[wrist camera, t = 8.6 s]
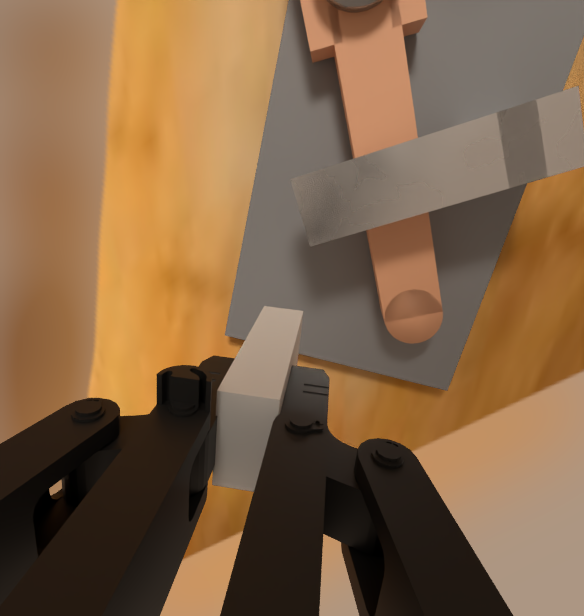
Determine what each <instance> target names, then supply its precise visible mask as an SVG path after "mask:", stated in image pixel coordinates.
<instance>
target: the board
mask: <svg viewBox="0 0 584 616" xmlns="http://www.w3.org/2000/svg"><path fill="white" fill-rule="evenodd" d="M425 2H426V9H427V19H426V21H425V23H424V24H423V26H422V28H421V29H420V31H419V32H418V33H415V34H411V35H408V36H405V37H404V43H405V50H406V57H407V64H408V71H409V78H410V85H411V92H412V99H413V106H414V114H415V121H416V128H417V135H418V138H419V137H422V136H425V135H428V134H431V133H434V132H437V131H441V130H444V129H447V128H450V127H453V126H456V125H459V124H462V123H465V122H468V121H471V120H475V119H478V118H481V117H484V116H487V115H490V114H493V113H496V112H499V111H502V110H505V109H508V108H512V107H515V106H518V105H521V104H524V103H527V102H530V101H533V100H536V99H539V98H542V97H546V96H549V95H552V94H555V93H558V92H561V91H563V88H564V86H565V83H566V81H567V78H568V75H569V73H570V70H571V68H572V65H573V62H574V60H575V57H576V55H577V52H578V49H579V47H580V44H581V42H582V39H583V36H584V0H425ZM351 159H353V156H352V150H351V145H350V139H349V134H348V129H347V123H346V118H345V112H344V107H343V101H342V96H341V90H340V85H339V79H338V74H337V69H336V63H335V58H334V57H331V58H328V59H324V60H321V61H317V62H314V63H312V58H311V53H310V48H309V43H308V37H307V32H306V27H305V22H304V17H303V12H302V7H301V2H300V0H289V1H288V7H287V12H286V17H285V22H284V28H283V33H282V38H281V43H280V49H279V54H278V59H277V64H276V70H275V75H274V80H273V85H272V90H271V96H270V101H269V106H268V111H267V117H266V122H265V127H264V132H263V138H262V143H261V148H260V153H259V159H258V164H257V169H256V174H255V180H254V185H253V190H252V195H251V201H250V206H249V211H248V216H247V222H246V227H245V232H244V237H243V243H242V248H241V253H240V258H239V264H238V269H237V274H236V279H235V285H234V290H233V295H232V300H231V306H230V311H229V316H228V321H227V326H226V332H225V335H226V336H230V337H234V338H238V339H242V340H246V338H247V336H248V334H249V332H250V331H251V329H252V327H253V325H254V324H255V322H256V320H257V318H258V316H259V315H260V313H261V311H262V309H263V307H264V306H269V307H276V308H284V309H292V310H300V311H303V318H302V327H301V336H300V345H299V353H298V354H302V355H306V356H310V357H314V358H318V359H322V360H326V361H330V362H334V363H338V364H342V365H346V366H350V367H354V368H358V369H362V370H366V371H370V372H374V373H378V374H382V375H386V376H390V377H394V378H398V379H402V380H406V381H410V382H414V383H418V384H422V385H426V386H430V387H434V388H438V389H442V390H446V391H447V390H448V388H449V385H450V382H451V380H452V377H453V375H454V372H455V369H456V367H457V364H458V362H459V359H460V356H461V354H462V351H463V349H464V346H465V343H466V341H467V338H468V336H469V333H470V330H471V328H472V325H473V323H474V320H475V317H476V315H477V312H478V310H479V307H480V304H481V302H482V299H483V297H484V294H485V291H486V289H487V286H488V284H489V281H490V278H491V276H492V273H493V271H494V268H495V265H496V263H497V260H498V258H499V255H500V252H501V250H502V247H503V245H504V242H505V239H506V237H507V234H508V232H509V229H510V226H511V224H512V221H513V219H514V216H515V213H516V211H517V208H518V205H519V203H520V200H521V198H522V195H523V192H524V190H525V187H526V185H527V183H526V184H523V185H519V186H516V187H512V188H509V189H505V190H502V191H499V192H495V193H492V194H488V195H485V196H481V197H478V198H475V199H471V200H468V201H464V202H461V203H458V204H454V205H451V206H447V207H444V208H440V209H437V210H434V211H430V212H429V219H430V226H431V233H432V240H433V247H434V254H435V261H436V268H437V275H438V282H439V289H440V296H441V303H442V310H443V320H442V323H441V326H440V328H439V330H438V331H437V332H436V333H435V335H433V336H432V337H431V338H429V339H428V340H426V341H423V342H420V343H414V344H410V343H404V342H401V341H399V340H397V339H396V338H394V337H393V336H392V335H391V334H390V333H389V331H388V330H387V327H386V325H385V322H384V319H383V316H382V313H381V308H380V303H379V297H378V292H377V287H376V281H375V276H374V270H373V265H372V259H371V254H370V248H369V243H368V237H367V232H366V230H365V231H362V232H358V233H355V234H352V235H348V236H345V237H341V238H338V239H334V240H331V241H328V242H324V243H321V244H317V245H314V246H311V247H310V244H309V241H308V238H307V234H306V231H305V227H304V224H303V221H302V217H301V214H300V211H299V207H298V204H297V200H296V197H295V194H294V190H293V187H292V183H291V180H290V179H292V178H296V177H299V176H302V175H305V174H308V173H311V172H314V171H317V170H320V169H323V168H326V167H329V166H333V165H336V164H339V163H342V162H345V161H348V160H351Z"/></svg>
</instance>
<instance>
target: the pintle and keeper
mask: <svg viewBox="0 0 584 616" xmlns="http://www.w3.org/2000/svg"><path fill="white" fill-rule="evenodd" d="M327 1H328V2H329V3H330V4H331V5H332V6H334V7H335V8H337V9H339V10H341V11H345V12H350V13H358V12H364V11H367V10H369V9H372V8H374V7H375V6H377V5H378V4H379V3H381V2H382V1H383V0H327ZM581 167H584V129H583V120H582V112H581V103H580V95H579V86H576V87H573V88H570V89H567V90H564V91H561V92H558V93H555V94H552V95H549V96H546V97H542V98H539V99H536V100H533V101H530V102H527V103H524V104H521V105H518V106H515V107H512V108H508V109H505V110H502V111H499V112H496V113H493V114H490V115H487V116H484V117H481V118H478V119H475V120H471V121H468V122H465V123H462V124H459V125H456V126H453V127H450V128H447V129H444V130H441V131H437V132H434V133H431V134H428V135H425V136H422V137H419V138H416V139H413V140H410V141H407V142H404V143H400V144H397V145H394V146H391V147H388V148H385V149H382V150H379V151H376V152H373V153H370V154H367V155H363V156H360V157H357V158H354V159H351V160H348V161H345V162H342V163H339V164H336V165H333V166H329V167H326V168H323V169H320V170H317V171H314V172H311V173H308V174H305V175H302V176H299V177H296V178H292V179H290V180H291V183H292V187H293V190H294V194H295V197H296V200H297V204H298V207H299V211H300V214H301V217H302V221H303V224H304V227H305V231H306V234H307V238H308V241H309V244H310V247H311V246H314V245H317V244H321V243H324V242H328V241H331V240H334V239H338V238H341V237H345V236H348V235H352V234H355V233H358V232H362V231H365V230H369V229H372V228H376V227H379V226H382V225H386V224H389V223H393V222H396V221H399V220H403V219H406V218H410V217H413V216H417V215H420V214H423V213H427V212H430V211H434V210H437V209H440V208H444V207H447V206H451V205H454V204H458V203H461V202H464V201H468V200H471V199H475V198H478V197H481V196H485V195H488V194H492V193H495V192H499V191H502V190H505V189H509V188H512V187H516V186H519V185H523V184H526V183H529V182H533V181H536V180H540V179H543V178H546V177H550V176H553V175H557V174H560V173H564V172H567V171H570V170H574V169H577V168H581Z"/></svg>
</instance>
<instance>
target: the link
mask: <svg viewBox="0 0 584 616" xmlns="http://www.w3.org/2000/svg"><path fill="white" fill-rule="evenodd" d="M300 2H301V7H302V12H303V17H304V22H305V27H306V32H307V37H308V43H309V48H310V53H311V58H312V63H314V62H317V61H321V60H324V59H328V58H331V57H334V58H335V63H336V69H337V74H338V79H339V85H340V90H341V96H342V101H343V107H344V112H345V118H346V123H347V129H348V134H349V139H350V145H351V150H352V156H353V159H354V158H357V157H360V156H363V155H367V154H370V153H373V152H376V151H379V150H382V149H385V148H388V147H391V146H394V145H397V144H400V143H404V142H407V141H410V140H413V139H416V138H418V135H417V128H416V121H415V114H414V106H413V99H412V92H411V85H410V78H409V71H408V64H407V57H406V50H405V43H404V37H405V36H408V35H411V34H415V33H418V32H419V31H420V29H421V28H422V26H423V24H424V23H425V21H426V19H427V9H426V2H425V0H383V1H382V2H381V3H379V4H378V5H377V6H375V7H374V8H372V9H369V10H367V11H364V12H358V13H350V12H345V11H341V10H339V9H337V8H335V7H334V6H332V5H331V4H330V3H329V2H328V1H327V0H300ZM366 232H367V237H368V243H369V248H370V254H371V259H372V265H373V270H374V276H375V281H376V287H377V292H378V297H379V303H380V308H381V313H382V316H383V319H384V322H385V325H386V327H387V330H388V331H389V333H390V334H391V335H392V336H393V337H394V338H396V339H397V340H399V341H401V342H404V343H410V344H414V343H420V342H423V341H426V340H428V339H429V338H431V337H432V336H433V335H435V333H436V332H437V331H438V330H439V328H440V326H441V323H442V320H443V310H442V303H441V296H440V289H439V282H438V275H437V268H436V261H435V254H434V247H433V240H432V233H431V226H430V219H429V212H427V213H423V214H420V215H417V216H413V217H410V218H406V219H403V220H399V221H396V222H393V223H389V224H386V225H382V226H379V227H376V228H372V229H369V230H366Z"/></svg>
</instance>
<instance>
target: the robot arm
mask: <svg viewBox="0 0 584 616" xmlns="http://www.w3.org/2000/svg"><path fill="white" fill-rule="evenodd" d="M302 318H303V311H300V310H292V309H284V308H276V307H269V306H264V307H263V309H262V311H261V313H260V315H259V316H258V318H257V320H256V322H255V324H254V325H253V327H252V329H251V331H250V332H249V334H248V336H247V338H246V340H245V341H244V343H243V345H242V347H241V349H240V350H239V352H238V354H237V356H236V357H235V359H234V358H227V357H220V356H212V357H210V358H208V359H206V360H204V361H202V363H201V364H200V365H199V367H196V366H190V365H180V366H172V367H169V368H166V369H163V370H162V371H160V372H159V373H158V374H157V405H156V406H155V408H154V409H153V410H152V411H151V413H150V414H147V415H137V416H120V408H119V407H118V405H117V403H115V402H113V401H111V400H108V399H102V398H87V399H83V400H79V401H75V402H73V403H71V404H69V405H66V406H65V407H63V408H61V409H60V410H58V411H56V412H54V413H53V414H51V415H49V416H47V417H46V418H44V419H43V420H41V421H39V422H37V423H35V424H34V425H32V426H30V427H28V428H27V429H25V430H23V431H22V432H20V433H18V434H16V435H15V436H13V437H11V438H10V439H8V440H6V441H5V442H3V443H1V444H0V616H160V614H161V611H162V608H163V606H164V604H165V601H166V599H167V596H168V594H169V591H170V589H171V586H172V584H173V581H174V579H175V576H176V574H177V571H178V569H179V566H180V564H181V561H182V559H183V557H184V554H185V552H186V549H187V547H188V544H189V542H190V539H191V537H192V534H193V532H194V529H195V527H196V524H197V522H198V519H199V517H200V514H201V512H202V509H203V507H204V504H205V502H206V498H207V485H208V480H209V477H210V475H211V473H212V470H213V480H212V485H216V486H222V487H228V488H234V489H240V490H246V491H253V492H254V493H253V497H252V501H251V504H250V508H249V512H248V515H247V519H246V523H245V526H244V530H243V534H242V537H241V541H240V545H239V548H238V552H237V556H236V559H235V563H234V567H233V571H232V574H231V578H230V581H229V585H228V589H227V592H226V596H225V600H224V604H223V607H222V611H221V614H220V616H319V605H320V586H321V566H322V565H321V564H322V546H323V534H325V535H327V536H329V537H331V538H334V539H336V540H338V541H340V542H341V547H342V554H343V557H344V561H345V564H346V568H347V572H348V575H349V579H350V583H351V586H352V590H353V594H354V597H355V601H356V605H357V609H358V612H359V616H513V614H512V613H511V611H510V609H509V608H508V606H507V604H506V603H505V601H504V600H503V598H502V596H501V595H500V593H499V591H498V590H497V588H496V586H495V585H494V583H493V582H492V580H491V579H490V577H489V575H488V573H487V572H486V570H485V569H484V567H483V565H482V564H481V562H480V560H479V559H478V557H477V556H476V554H475V552H474V550H473V549H472V547H471V546H470V544H469V542H468V541H467V539H466V537H465V536H464V534H463V532H462V531H461V529H460V528H459V526H458V524H457V523H456V521H455V519H454V518H453V516H452V514H451V513H450V511H449V510H448V508H447V506H446V505H445V503H444V501H443V500H442V498H441V496H440V495H439V493H438V492H437V490H436V488H435V487H434V485H433V484H432V482H431V480H430V478H429V477H428V475H427V474H426V472H425V470H424V469H423V467H422V466H421V464H420V462H419V460H418V459H417V457H416V456H415V455H414V454H413V453H412V452H411V450H410V449H408V448H406V447H405V446H403V445H402V444H400V443H397V442H395V441H392V440H388V439H379V438H377V439H369V440H367V441H365V442H363V443H361V444H360V446H359V448H358V449H357V448H354V447H351V446H349V445H347V444H344V443H342V442H341V441H339V440H338V439H336V438H335V437H334V436H333V435H332V434H331V433H330V431H329V429H328V426H327V414H328V395H329V377H328V376H327V374H326V373H325V371H324V370H322V369H314V368H307V367H300V366H297V362H298V353H299V345H300V336H301V327H302ZM61 479H62V489H61V490H60V491H58V492H57V493H55V494H53V495H52V496H50V493H49V488H50V487H52V486H53V485H54V484H56V483H57V482H58V481H59V480H61Z"/></svg>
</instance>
